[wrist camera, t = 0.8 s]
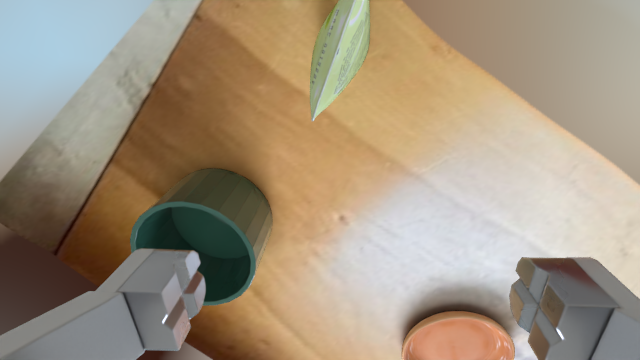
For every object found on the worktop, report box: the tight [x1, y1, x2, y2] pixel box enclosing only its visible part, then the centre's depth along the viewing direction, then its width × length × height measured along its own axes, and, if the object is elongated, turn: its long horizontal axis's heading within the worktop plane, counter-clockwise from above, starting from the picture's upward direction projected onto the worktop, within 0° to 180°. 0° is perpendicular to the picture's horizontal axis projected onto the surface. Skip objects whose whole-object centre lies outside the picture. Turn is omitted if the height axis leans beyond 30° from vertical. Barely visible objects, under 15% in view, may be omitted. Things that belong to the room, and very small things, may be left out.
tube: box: [310, 0, 370, 121], centre depth 25 cm, size 6×5×20 cm
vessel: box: [130, 169, 273, 305], centre depth 41 cm, size 14×14×9 cm
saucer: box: [402, 311, 515, 360], centre depth 49 cm, size 16×16×3 cm
